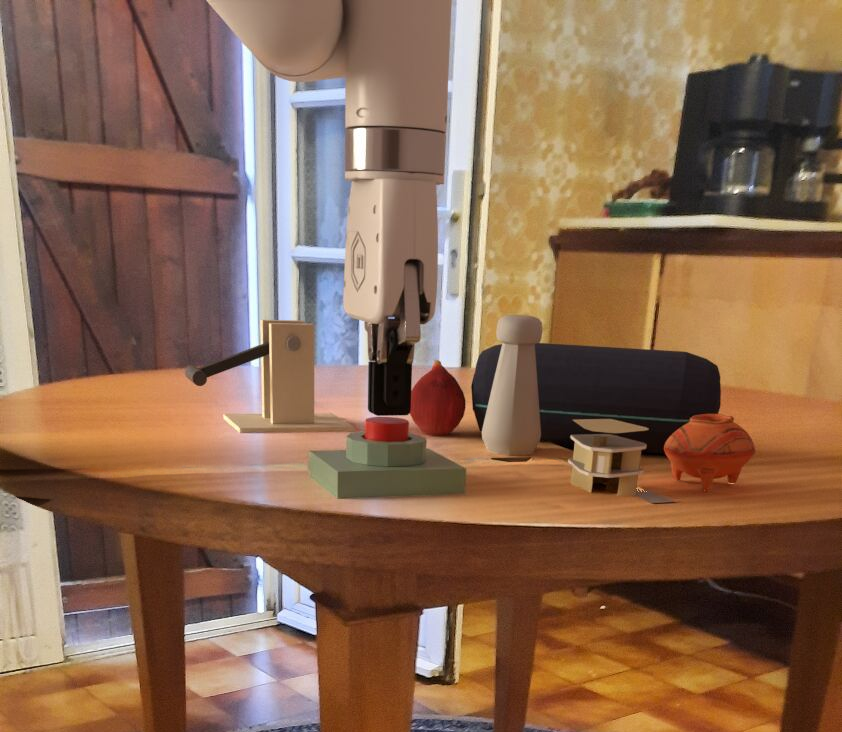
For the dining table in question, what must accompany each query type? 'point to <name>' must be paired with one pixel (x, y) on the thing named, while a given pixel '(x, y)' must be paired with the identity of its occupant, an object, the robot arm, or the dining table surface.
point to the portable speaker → (610, 390)
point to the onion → (437, 402)
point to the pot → (709, 449)
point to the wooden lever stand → (287, 384)
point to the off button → (386, 429)
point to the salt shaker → (514, 391)
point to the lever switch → (225, 364)
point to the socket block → (385, 469)
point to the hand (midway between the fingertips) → (389, 413)
